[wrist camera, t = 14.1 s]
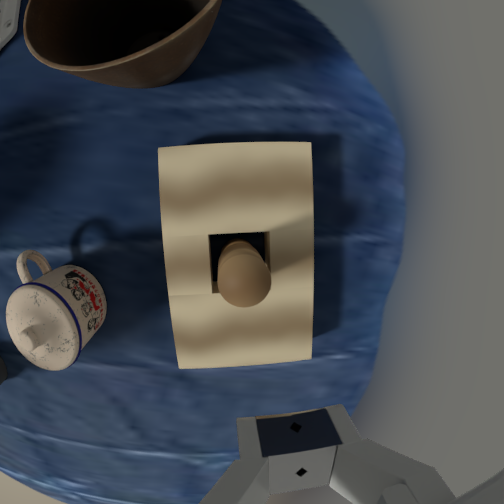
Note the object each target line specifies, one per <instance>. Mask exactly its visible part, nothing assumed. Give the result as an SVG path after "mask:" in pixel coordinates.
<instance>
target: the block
mask: <svg viewBox="0 0 504 504" xmlns="http://www.w3.org/2000/svg"><path fill="white" fill-rule="evenodd" d="M158 163H159V188H160V207H161V222H162V235H163V247H164V258H165V268H166V278H167V287H168V295H169V304H170V311H171V319H172V326H173V333H174V340H175V347H176V353H177V359H178V365H179V369H190V368H216V367H233V366H247V365H259V364H270V363H280V362H290V361H298V360H306V359H311V353H312V329H313V292H314V212H313V175H312V151H311V142H240V143H216V144H199V145H185V146H173V147H162V148H158ZM246 232H264V247H265V264H266V266H267V268H268V269H269V271H270V274H271V288H270V291H269V293H268V295H267V296H266V297H265V299H264V300H263V301H261V302H260V303H259V304H257V305H254V306H251V307H246V308H242V307H236V306H234V305H231V304H230V303H228V302H227V301H226V300H225V299H224V298H223V297H222V296H221V294H220V292H219V289H218V281H217V282H213V273H212V258H211V243H210V234H227V233H246Z"/></svg>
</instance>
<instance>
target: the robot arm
mask: <svg viewBox="0 0 504 504" xmlns="http://www.w3.org/2000/svg"><path fill="white" fill-rule="evenodd" d="M20 2H21V0H0V50H1V49H2V47H3V46H4V45H5V44H6V43H7V42H8V41H9V40H10V39H11V38H12V37H13V36H14V34H15V33H16V31H17V27H18V17H19V9H20ZM236 423H237V433H238V444H239V454H240V460H234V461H233V463H232V464H231V465H230V467H229V468H228V469H227V470H226V472H225V473H224V474H223V475H222V477H221V478H220V479H219V480H218V481H217V483H216V484H215V485H214V486H213V488H212V489H211V490H210V491H209V492H208V493H207V495H206V496H205V497H204V498H203V499H202V500H201V502H200V503H199V504H265V503H266V502H267V500H268V498H269V495H271V494H277V493H284V492H289V491H295V490H301V489H307V488H313V487H319V486H325V485H329V486H330V487H331V488H333V489H334V490H335V491H337V492H338V493H339V494H341V495H342V496H344V497H345V498H346V499H348V500H349V501H350V502H352V503H353V504H504V469H502V470H501V471H499V472H498V473H496V474H495V475H493V476H492V477H490V478H489V479H487V480H486V481H484V482H483V483H481V484H479V485H478V486H476V487H474V488H473V489H471V490H470V491H468V492H466V493H464V494H462V495H461V496H459V497H457V498H456V497H455V496H454V494H453V493H452V492H451V490H450V489H449V487H448V486H447V485H446V483H445V482H444V480H443V479H442V477H441V476H440V475H439V473H438V472H437V471H436V469H435V468H434V467H431V466H429V465H426V464H424V463H421V462H419V461H416V460H414V459H412V458H409V457H407V456H404V455H402V454H400V453H398V452H395V451H393V450H391V449H389V448H386V447H384V446H382V445H380V444H378V443H376V442H374V441H372V440H369V439H363V440H362V438H361V436H360V434H359V433H358V431H357V429H356V427H355V426H354V424H353V422H352V421H351V418H350V417H349V415H348V413H347V411H346V410H345V408H344V406H343V405H341V404H338V405H333V406H328V407H324V408H319V409H313V410H307V411H301V412H294V413H287V414H278V415H267V416H255V417H244V418H237V421H236Z"/></svg>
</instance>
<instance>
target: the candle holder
mask: <svg viewBox="0 0 504 504" xmlns="http://www.w3.org/2000/svg"><path fill="white" fill-rule="evenodd" d="M6 378H7V368H6V366H5V363H4V361H3V359H2V358H1V357H0V385H1V384H2V382H3V381H4V380H5V379H6Z"/></svg>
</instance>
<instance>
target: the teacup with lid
mask: <svg viewBox="0 0 504 504" xmlns="http://www.w3.org/2000/svg"><path fill="white" fill-rule="evenodd" d="M27 259H31V260H33V261H34V262H35V263H36V264H37V265H38V266H39V267H40V269H41V271H42V273H43V275H44V276H42V277H40V278H38V279H36V280H34V281H33V279H32V277H31V275H30V273H29V271H28V268H27V263H26V261H27ZM17 270H18V273H19V276H20V278H21V280H22V282H23V284H22V285H20V286H19V287H17V288H16V289H15V290H14V292H13V293H12V295H11V296H10V298H9V301H8V304H7V309H6V321H7V326H8V330H9V333H10V336H11V338H12V340H13V342H14V344H15V345H16V347H17V348H18V350H19V351H20V352H21V353H22V354H23V355H24V357H26V358H27V359H28V360H29V361H30V362H32V363H33V364H35V365H36V366H38V367H41V368H43V369H47V370H62V369H65V368H68V367H70V366H71V365H72V364H74V363H75V361H76V360H77V359H78V357H79V355H80V352H81V350H82V349H83V347H84V346H85V345H86V344H87V342H88V341H89V340H90V339H91V337H92V336H93V335H94V334H95V332H96V331H97V330H98V329H99V328H100V326H101V325H102V323H103V321H104V319H105V316H106V310H107V304H106V298H105V294H104V292H103V289H102V287H101V285H100V284H99V282H98V281H97V280H96V278H95V277H94V276H93V275H92V274H91V273H89V272H88V271H86V270H85V269H83V268H81V267H78V266H74V265H65V266H61V267H59V268H57V269H55V270H53V271H52V269H51V267H50V265H49V263H48V262H47V260H46V259H45V258H44V256H43V255H41V254H40V253H39V252H37V251H34V250H26V251H24V252H22V253H21V254H20V255H19V257H18V259H17Z"/></svg>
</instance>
